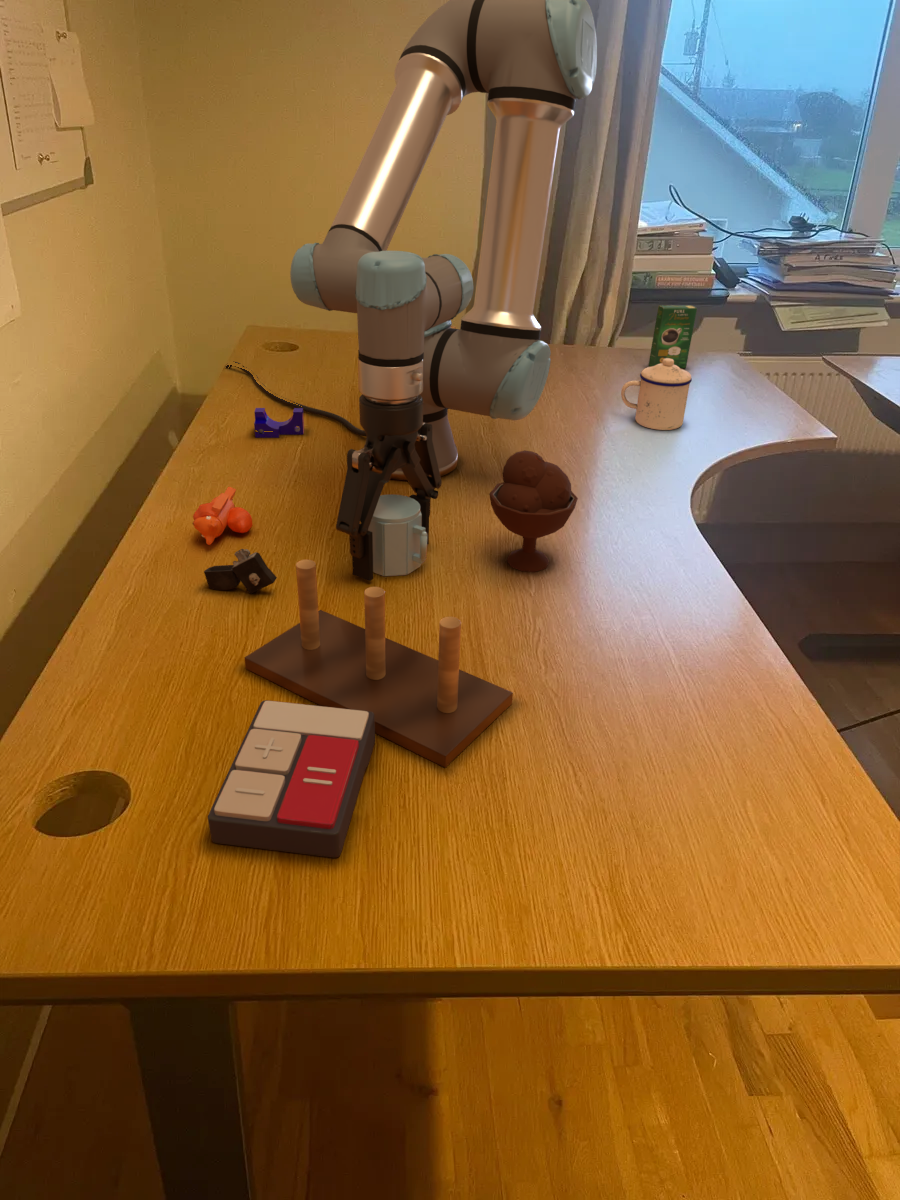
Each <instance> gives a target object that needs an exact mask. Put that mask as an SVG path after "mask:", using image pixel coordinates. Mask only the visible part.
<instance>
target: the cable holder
mask: <svg viewBox="0 0 900 1200" xmlns="http://www.w3.org/2000/svg"><path fill="white" fill-rule="evenodd" d="M292 413H293V414H292V415H291V417H290V418H288V419H287V420H285V421H277V420H273V418H271V417H270V416H269V415H268V414H267V412H266V408H265V407H255V409H254V421H253V424H254V425H253V427H254V428H253V429H254V438H259V439H260V438H261V439H262V438H263V439H264V438H265V439H266V438H267V439H269V438H270V439H271V438H272V439H273V438H274V439H275V438H277V439H279V438H280V436H281V435H297V436H298V435H305V434H304V433H305V418H304V417H305V416H304V411H303V408H294V407H293V410H292ZM255 430H257V431H258V432H255ZM264 431H273V432H264Z"/></svg>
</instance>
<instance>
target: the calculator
mask: <svg viewBox="0 0 900 1200" xmlns="http://www.w3.org/2000/svg"><path fill="white" fill-rule="evenodd" d="M375 744H376V733H375V718H374V713H373V712H370V711H362V710H352V709H343V708H334V707H324V706H320V705H313V704H305V703H295V702H286V701H278V700H277V701H276V700H262V701H261V702H260V704H259V705H258V707H257V709H256V712H255V714H254V716H253V718H252V720H251V722H250V725H249V727H248V729H247V731H246V733H245V736H244V737H243V740H242V742H241V744H240V746H239V749H238V750H237V752H236V755H235V756H234V759H233V761H232V763H231V765H230V767H229V770H228V772H227V774H226V776H225V778H224V780H223V783H222V785H221V787H220V789H219V791H218V793H217V795H216V797H215V799H214V802H213V804H212V806H211V808H210V811H209V813H208V815H207V821H208V827H209V828H208V829H209V832H210V837H211V842H213V843H214V844H221V845H227V846H236V847H237V846H238V847H244V848H251V849H252V848H253V849H262V850H268V851H278V852H283V853H284V852H285V853H294V854H301V855H308V856H309V855H310V856H319V857H327V858H332V859H333V858H338V857H340V856H341V854H342V851H343V847H344V844H345V842H346V838H347V834H348V831H349V827H350V823H351V821H352V817H353V813H354V811H355V807H356V803H357V800H358V796H359V793H360V791H361V786H362V783H363V779H364V777H365V772H366V769H367V768H368V766H369V764H370V761H371V757H372V753H373V750H374V747H375Z"/></svg>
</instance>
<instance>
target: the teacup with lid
mask: <svg viewBox="0 0 900 1200" xmlns="http://www.w3.org/2000/svg"><path fill="white" fill-rule="evenodd" d="M639 377H640V380H630V381H627V382H626V383H624V384H623V386H622V388H621V391H620V395H621V400H622V402H623V403H624V405H625V406H627V407H628V408H630V409H635V416H634V417H635V422H636V423H637V424H638V425H640V426H641V427H645V428H647V429H651V430H656V431H657V430H658V431H671V430H676V429H679V428H680V427H682V426H683V424H684V419H685V413H686V407H687V401H688V397H689V391H690V390H689V389H690V386H691V385H690V384H691V382H692V380H693V379H692V375H691V373H690V372H689V371H687V370H685V369H684V368H679V367H678V366H676V365H674V360H673V359H670V358H665V359H663V361H662V363H660V364H657V365H655V366H651V367H649V366H647V367H645V368H643V369H642V370H641V371H640V374H639ZM632 386H637V387H639V390H638V394H637V395H638V396H637V403H632V402H630V401H629V400H628V399H627V397H626V391H627V389H628V388H630V387H632Z"/></svg>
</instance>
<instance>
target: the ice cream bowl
mask: <svg viewBox="0 0 900 1200" xmlns="http://www.w3.org/2000/svg"><path fill="white" fill-rule="evenodd" d="M501 474H502V481H503V482H499V483H497V484H496V485H495V486H494V487H493V489H492V490H491V491H490V493H488V495H489V500H490V501H489V502H490V506H491V508H492V510H493V514H494V515H495V516H496V517H497V519H498V520H499V522H500V524H501V525H503V526H504V528H506V530H508V531H509V532H512V533H513V534H515V535H517V536H520V537H522V547H521V548H519V549H515V550H512V551H511V552H510V554H509V555H508V556H507V558H506V562H507V563H508V565H509V566H510V568H513V569H515V570H518V571H520V572H529V573H530V572H532V573H536V572H539V571H543V570H545V569H547V567H548V565H549V564H550V561H549V558H548V557H547V555H546V554H545V553H544V552H542V551H540V550H538V549H537V539H539V538H543V537H546V536H549V535H551V534H554V533H556V532H558V531H560V529H563V527H564V526H566V523H567V521H568V520H570V519H569V518H570V517H571V516H572V513H573V512H574V510H575V509H576V506H577V503H578V500H579V498H578V497H577V495H576V494H575V493H574V492H573V491H572V483H571V481H570V479H569V477H568V475H567V473H565V472H564V470H562V469H561V468H560V466H559V465H557V464H554V463H552V462H549V461H545V460H544V458H543V457H542V456H541V455H539V454H538V453H537V452H535V451H532V450H521V451H516V452H515V453H513V454H511V455H510V456H509V457H508V458H507V460H506V461H505V464H504V467H503V469H502V473H501Z"/></svg>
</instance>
